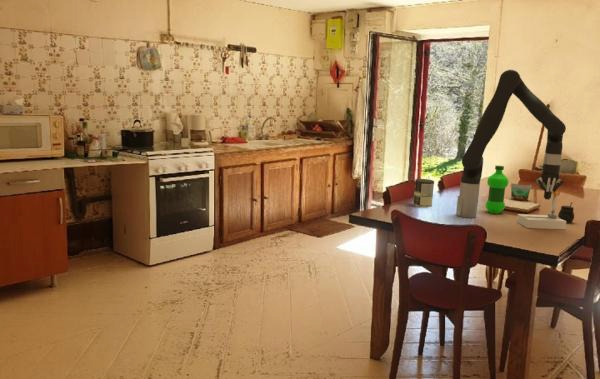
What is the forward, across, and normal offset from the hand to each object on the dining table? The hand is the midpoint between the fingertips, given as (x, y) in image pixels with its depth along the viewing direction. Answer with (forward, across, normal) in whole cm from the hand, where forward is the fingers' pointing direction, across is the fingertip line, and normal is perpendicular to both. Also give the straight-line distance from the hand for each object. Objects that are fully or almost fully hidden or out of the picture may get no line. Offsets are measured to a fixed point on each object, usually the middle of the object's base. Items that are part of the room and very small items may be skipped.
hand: (547, 199), depth 248 cm
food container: (+13, -18, -66) cm, 70 cm away
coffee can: (+14, +49, -38) cm, 64 cm away
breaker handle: (+9, -4, 0) cm, 10 cm away
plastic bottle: (+13, +13, -27) cm, 33 cm away
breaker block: (+13, +1, 0) cm, 13 cm away
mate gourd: (+13, -17, -11) cm, 24 cm away
